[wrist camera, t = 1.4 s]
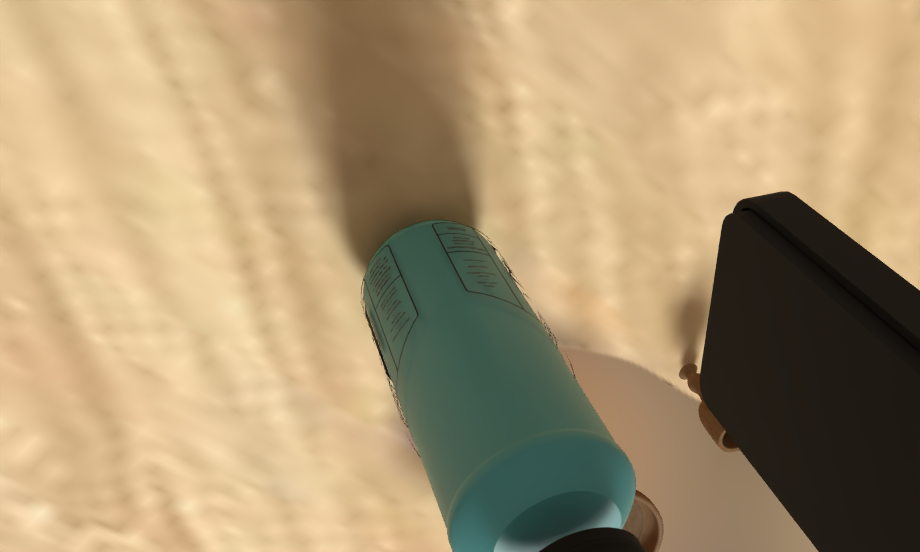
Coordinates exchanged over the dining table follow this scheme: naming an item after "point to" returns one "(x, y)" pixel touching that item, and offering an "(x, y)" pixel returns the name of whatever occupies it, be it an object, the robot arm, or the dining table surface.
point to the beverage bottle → (493, 401)
